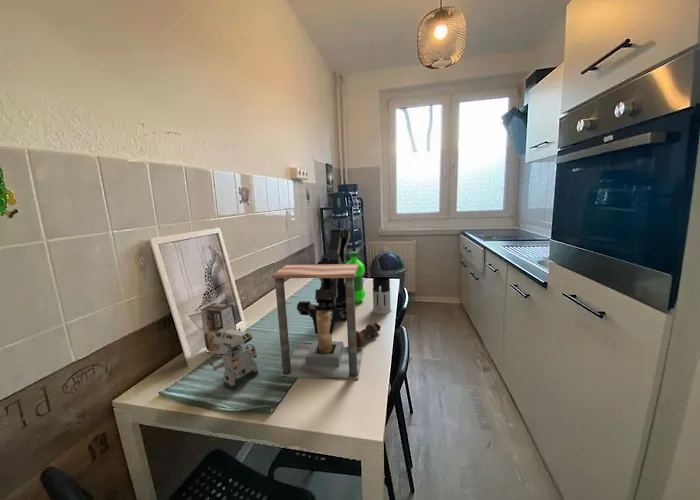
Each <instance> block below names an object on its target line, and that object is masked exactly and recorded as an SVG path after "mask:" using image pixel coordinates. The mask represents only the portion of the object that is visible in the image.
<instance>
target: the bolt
mask: <svg viewBox="0 0 700 500" xmlns="http://www.w3.org/2000/svg"><path fill="white" fill-rule="evenodd" d="M380 331H381V325H380V324H378V323H376V322H375V323H368V324H367V325H366V326H365V328H363V329H362V330H360V331H358V330H356V347H363V344H364V342H365V340H366V339H368V338H375V337H376V336H377V334H378V332H380Z"/></svg>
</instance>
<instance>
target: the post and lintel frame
mask: <svg viewBox="0 0 700 500" xmlns="http://www.w3.org/2000/svg"><path fill="white" fill-rule="evenodd" d="M358 267H359V265H358V264H346V263H345V264H317V263H316V264H315V263H314V264H286V265H284V266H283V267H281V268H279V269H278V270H276V272H274V273H273V274H271V279H274V283H275V284H274V287H275V297H276V308H277V318H278V330H279V331H278V332H279V341H280V343H279V344H280V354H281V366H282V372H281V373H280V377H281V376H287V377H286V378H304V379H305V378H306V379H329V380H331V379H332V380H359V377H360V370H361V366H362V358H363V350H364V347H363V346H361V347H356V331H357V330H356V328H357V324H356V303H355V296H354V277H355V275H356V272H357V270H358ZM319 278H345V288H346V311H347V320H346V328H347V330H346V331H347V346H344V350H343V354H342V357H341V361H340V364H339V366H310V365H306V356H307V354H308V352H309V350H310V348H311V346H312V345H297V346H296V348H295V350H294V351H293V353H292V355H291V354H290V353H291V352H290V342H289V341H290V340H289V330H288V329H289V327H288V316H287V305H286V302H287V301H286V292H285V282H284V281H285V279H319ZM333 353H334V352H331V353H329V354H333ZM318 354H320V353H318Z"/></svg>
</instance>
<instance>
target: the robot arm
mask: <svg viewBox="0 0 700 500" xmlns="http://www.w3.org/2000/svg"><path fill="white" fill-rule="evenodd" d="M328 235H329V243H328V247H327V251H326V252H325V253H324V254H323V255H322V259H321V260H319V261H318V262H317V263H316V264H346V248H347V247H348V245H349V242H350V239H351V231H350V230H349V229H347V228H332V229H330V230H329V234H328ZM318 279H319V282H320V288H319V289H315V296H314V298H315V299H314V300H315V302H316V304H312V303H311V301H309V300H306V301H305V300H303V301H301V300H300V301H298V302H297V304H296V310H297V312H298V314H299V315H301V316H309V317H310V318H312V323H313V328H314V333H315V334H316V335H318V331H317V316H316V313H317V312H318V311H321V310H328V311H330V312H332V315H331V318H332V319H331V328H330V334H332V335H333V333H334V331H335V329H336V327H337V325H338V323H339V322H342V321H347V311H346V288H345V278H318Z"/></svg>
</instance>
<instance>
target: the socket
mask: <svg viewBox="0 0 700 500" xmlns="http://www.w3.org/2000/svg"><path fill="white" fill-rule="evenodd" d="M310 346H311V348H310V350H309V352H308V354H307V356H306V365H310V366H339V364H340V361H341V357H342V354H343V350H344V347H345V346H344V341H336V340H335V341H333V340H332V352H334V353H333V354H318V353H319V346H318V340H313V341H312V344H311V345H310Z"/></svg>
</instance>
